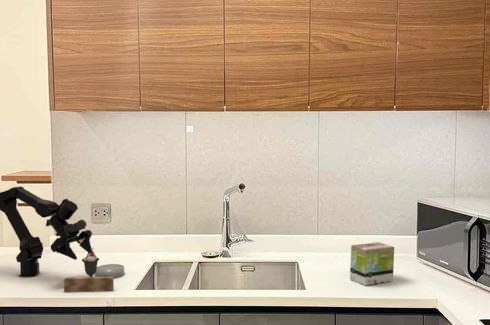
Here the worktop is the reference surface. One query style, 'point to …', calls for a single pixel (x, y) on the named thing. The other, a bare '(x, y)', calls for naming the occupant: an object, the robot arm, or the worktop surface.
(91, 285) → the brown wooden plank
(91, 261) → the sundae
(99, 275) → the slate plinth
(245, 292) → the worktop surface
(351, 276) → the tea box
